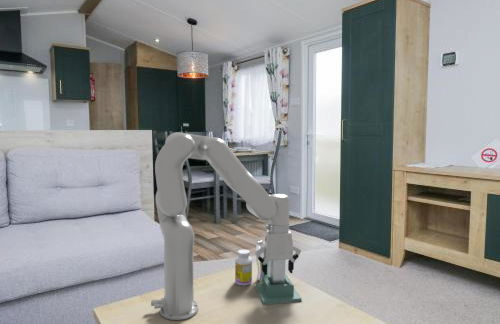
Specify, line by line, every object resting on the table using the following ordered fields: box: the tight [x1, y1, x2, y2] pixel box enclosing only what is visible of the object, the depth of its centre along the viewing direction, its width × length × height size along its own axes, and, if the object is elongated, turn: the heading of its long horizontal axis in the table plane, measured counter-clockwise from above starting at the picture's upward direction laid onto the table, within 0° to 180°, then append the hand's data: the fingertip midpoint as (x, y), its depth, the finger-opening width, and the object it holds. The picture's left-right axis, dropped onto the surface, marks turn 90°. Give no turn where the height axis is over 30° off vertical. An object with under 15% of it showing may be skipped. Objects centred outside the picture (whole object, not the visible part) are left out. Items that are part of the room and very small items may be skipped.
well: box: [254, 273, 303, 305], centre depth 134 cm, size 14×14×5 cm
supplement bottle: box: [234, 249, 253, 287], centre depth 142 cm, size 7×7×13 cm
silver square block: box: [270, 259, 286, 285], centre depth 133 cm, size 4×4×13 cm
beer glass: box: [255, 240, 270, 283], centre depth 145 cm, size 7×7×15 cm
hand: (277, 272), depth 133 cm, fingers open, 9 cm apart
